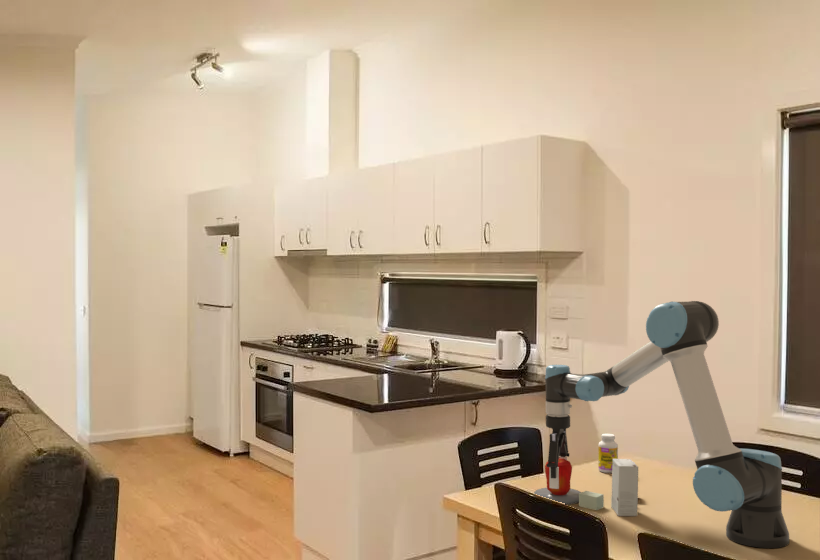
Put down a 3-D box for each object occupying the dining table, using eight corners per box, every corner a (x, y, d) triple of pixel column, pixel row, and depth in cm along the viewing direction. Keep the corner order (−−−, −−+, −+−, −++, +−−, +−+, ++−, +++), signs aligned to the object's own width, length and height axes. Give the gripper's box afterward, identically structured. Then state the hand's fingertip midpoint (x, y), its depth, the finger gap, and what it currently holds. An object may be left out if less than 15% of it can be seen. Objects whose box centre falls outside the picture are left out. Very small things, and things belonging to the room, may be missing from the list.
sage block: (596, 510, 228) (596, 497, 228) (579, 506, 232) (578, 493, 232) (603, 507, 231) (603, 494, 231) (586, 503, 235) (585, 490, 235)
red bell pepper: (556, 487, 248) (556, 451, 247) (578, 493, 241) (577, 455, 241) (539, 493, 242) (539, 455, 242) (561, 499, 236) (560, 460, 235)
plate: (578, 506, 232) (578, 502, 232) (529, 501, 237) (529, 497, 237) (586, 493, 245) (586, 489, 245) (540, 488, 251) (540, 485, 251)
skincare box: (610, 507, 230) (610, 458, 230) (631, 507, 230) (630, 458, 230) (618, 516, 222) (617, 465, 222) (639, 516, 222) (638, 465, 222)
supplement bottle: (598, 472, 270) (597, 436, 270) (598, 468, 277) (598, 432, 277) (617, 473, 269) (617, 437, 269) (618, 469, 275) (617, 433, 275)
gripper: (562, 422, 228) (562, 494, 228) (577, 408, 251) (577, 473, 251) (537, 421, 231) (537, 492, 231) (554, 407, 254) (554, 471, 254)
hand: (558, 482), depth 241 cm, fingers open, 13 cm apart
